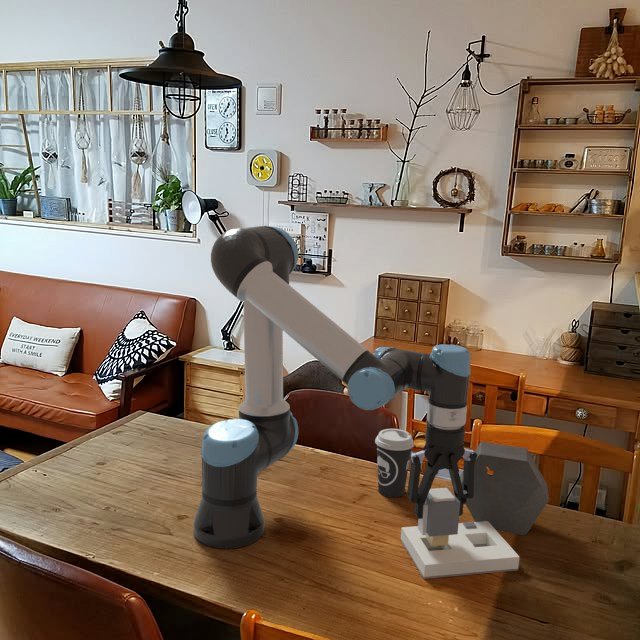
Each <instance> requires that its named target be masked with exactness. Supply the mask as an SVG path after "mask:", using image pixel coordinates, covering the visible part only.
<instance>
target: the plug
mask: <svg viewBox="0 0 640 640" xmlns="http://www.w3.org/2000/svg"><path fill="white" fill-rule="evenodd" d="M425 502H426V503H427V505H428V515H427V528H426V539H427V540H428V541H429V543H430V544H431V546H442V545H448V540H449V535H456V534H458V523H460V521H459V520H460V516H459V511H460V501H459V500H458V499H457V498H456V496H455V494H454V492H452V491H451V490H450V489H449V488H448V487H436V488H430V491H429V493H428V496H427V498H426V501H425Z"/></svg>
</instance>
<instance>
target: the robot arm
mask: <svg viewBox="0 0 640 640" xmlns="http://www.w3.org/2000/svg"><path fill="white" fill-rule="evenodd" d="M298 251H299V250H298V246H297V243H296V242H295V241H294V238H293V237H292V236H291V235H290V233H288V232H287V231H286V230H284V229H283V228H281V227H276V226H269V225H259V226H250V227H235V228H231V229H229V230H226V231H225V232H223V233H222V234H220V236H219V237H217V239H216V240H215V242H214V243H213V246H212V248H211V253H210V263H211V267H212V270H213V273H214V275H215V277H216V279H217V280H218V281H219V282H220V284H222V286H223V287H224V288H225V289H226V290H227V291H228V292H229V293H230V294H232V296H234V297H235V298H237V300H238V301H240V302H243V340H244V346H243V347H244V348H243V349H244V400H243V401H242V402H241V403H240V404H239V405H238V418H229V419H227V420H220V421H217V422H215V423H213V424H212V425H210V426H209V427H208V428H207V429H206V430H205V431H204V434H203V436H202V446H201V450H200V453H201V454H200V455H201V499H200V501H199V506H198V508H197V510H196V514H195V517H194V520H193V535H194V537H195V539H196V540H197V541H199V542H200V544H203V545H205V546H208V547H211V548H215V549H223V550H224V549H227V550H228V549H229V550H231V549H236V548H243V547H246V546H249V545H251V544H253V543H255V542H257V541H258V540H260V538H261V537H262V536H263V535H264V532H265V517H264V514H263V512H262V509H261V505H260V501H259V499H258V490H257V489H258V475H259V474H260V473H262V472H263V471H265V470H266V469H267V468H269V467H270V466H272V465H273V464H275V463H276V462H278V461H280V460H282V459H283V458H285V457H286V455H288V454H289V452H291V451H292V450H293V448H294V447H295V445H296V444H297V441H298V438H299V437H298V436H299V426H298V421H297V419H296V418H295V417H294V416H293V413H292V412H291V410H290V409H291V407H290V404H289V403H288V402H287V401H286V400H285V399H284V378H283V377H284V374H283V373H284V369H283V368H284V365H283V363H284V359H283V357H284V356H283V354H284V353H283V350H284V349H283V344H284V340H283V337H284V336H283V335H284V334H283V332H285V334H287V335H288V336H289V337H290V338H291V339H292V340H294V341H295V342H296V343H297V344H299V346H301V348H303V349H304V350H306V352H308V353H309V354H310V355H311V356H313V357H314V359H316V360H317V361H318V362H319V363H321V365H323V366H325V367H326V369H328V370H329V371H330V372H332V373H333V374H334V375H335V377H337V378H338V379H340V380H341V381H342V382H343V383H344V384H345V385H346V386H347V388H346V389H347V395H348V396H349V399H350V400H351V402H352V404H353V405H355V406H356V407H358V409H361V410H364V411H365V410H366V411H373V410H377V409H379V408H381V407H383V406H386V405H387V404H388V403H390V401H392V400H393V399H394V397H396V396H398V395H399V394H400V393H402V392H403V391H404V390H406V389H409V390H414V391H419V392H427V394H428V400H427V412H426V413H427V415H426V420H427V422H426V426H425V427H426V428H425V440H424V441H425V444H424V447H423V448H422V450H420V451H418V452H415V451H412V450H411V452H410V454H409V455H410V469H409V475H408V476H409V477H408V482H407V483H408V485H407V492H406V496H407V498H408V499H409V501H410V502H411V504H413V503H415V507H414V514H415V517H416V519H418V521H417V526H418V529H419V531H420V532H421V534H422V535H426V528H427V515H428V505H427V503H426V502H425V501H426V498H427V496H428V493H429V491H430V489H432V488H431V487H432V485H433V483H434V480H435V478H436V476H437V475H438V473H439V471H441V470H444V469H445V470H448V473H449V478H450V481H451V485H452V490H453V494H454V495H455V497H456V498H457V499H458V500H459V501H460V511H459V517H460V516H463V513H464V505H466V504H465V503H466V502H467V500H466V499H468V498H469V499H471V498H473V496H474V464H475V461H476V458H477V454H476V453H475V450H473V449H472V448H465V447H464V443H465V436H466V435H465V434H466V427H465V425H466V422H467V410H468V395H469V388H470V378H471V373H472V372H471V352H470V351H469V350H468V349H467V348H466V347H464V346H461V345H458V344H457V345H456V344H446V343H444V344H443V343H442V344H436V345H435V346H433V347H432V349H431V352H430V353H429V352H428V353H426V352H419V351H413V350H408V349H402V348H397V347H393V346H391V347H386V346H379V347H378V348H376V349H374V350H373V351H374V352H373V353H372V352H371V351H369V350H368V349H367V348H366V347H365V346H363V345H362V344H361V343H360V342H358V341H357V340H356V339H355V338H354V337H352V335H350V334H349V333H348V332H347V331H346V330H344V329H343V328H342V327H340V326H339V325H338V324H337V323H336V322H334V320H332V319H331V318H330V317H329V316H327V315H326V314H325V313H324V312H322V311H321V310H320V309H319V308H318V307H317V306H315V305H314V304H313V303H311V302H310V301H309V300H308V298H305V297H304V296H303V295H302V294H300V292H298V291H297V290H296V289H295V288H294V287H293V286H292V285H290V274H292V273H293V271H294V270H295V268H296V267H297V264H298V260H299V252H298ZM424 458H425V459H426V460H427V461H426V464H425V470H424V472H423V475H422V478H421V472H422V465H421V464H423V461H424ZM461 459H463V470H462V472H463V488H462V484H461V480H460V475H461V474H460V468H459V464H458V463H459V461H460V460H461ZM420 478H421V479H420Z"/></svg>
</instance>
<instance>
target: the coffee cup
mask: <svg viewBox="0 0 640 640" xmlns="http://www.w3.org/2000/svg"><path fill="white" fill-rule="evenodd" d="M374 443H375V444H376V451H377V452H376V453H377V454H376V455H377V488H378V489H377V490H378V493H379V494H380V495H382V496H385V497H387V498H399V497H401V496H404V494H405V492H406V487H407V486H406V484H407V478H408V474H409V473H408V471H409V466H410V462H411V460H410V455H409V454H410V452H412V449H413V448H414V447H415V442H414V439H413V437H412V434H411V433H409V432H408V431H406V430H403V429H399V428H386V429H385V428H384V429H382V430H380V431H379V432H378V435H377V436H376V437H375V439H374Z"/></svg>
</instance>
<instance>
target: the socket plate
mask: <svg viewBox="0 0 640 640" xmlns="http://www.w3.org/2000/svg"><path fill="white" fill-rule="evenodd" d="M400 542H401V543H402V545H403V546H404V549H405V551H407V553H408V555H409V557H410V558H411V559H412V562H413V564H414V565H415V566H416V568H417V570H418V571H419V573H420V575H421V576H422V579H423V580H426V579H437V578H449V577H457V576H458V577H459V576H470V575H472V576H473V575H481V574H492V573H493V574H494V573H503V572H514V571H515V572H516V571H519V565H520V556H519V554H518V553H517V552H516V551H515V550H514V549H513V548H512V547H511V545H510V544H509V543H508V542H507V541H506V540H505V539H504V537H503V536H502V535H501V534H500V533H499V531H496V530H495V529H494V527H493V526H492V525H491V524H490V523H489V522H488V521H482V522H475V521H471V522H459V523H458V534H456V535H449V540H448V545H442V546H431V544H430V543H429V541H428V540H427V539H426V535H422V534H421V532H420V531H419V529H418V525H416V526H415V525H414V526H402V527H401V529H400Z"/></svg>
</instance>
